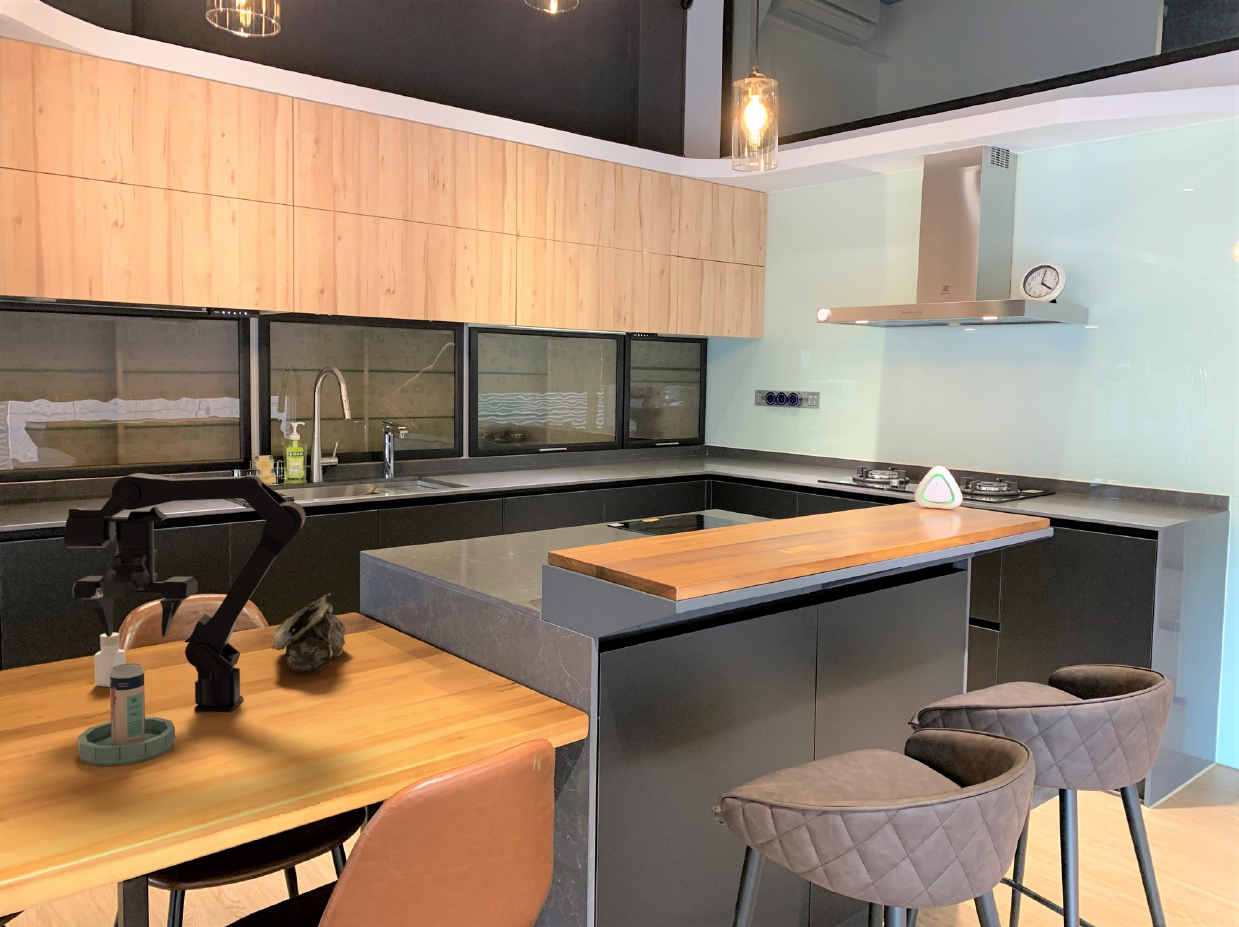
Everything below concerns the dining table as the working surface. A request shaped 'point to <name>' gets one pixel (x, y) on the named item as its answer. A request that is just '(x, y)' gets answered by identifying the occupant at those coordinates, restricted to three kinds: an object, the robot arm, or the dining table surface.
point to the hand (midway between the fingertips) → (137, 636)
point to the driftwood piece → (311, 637)
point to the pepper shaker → (108, 658)
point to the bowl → (104, 753)
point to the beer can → (127, 704)
